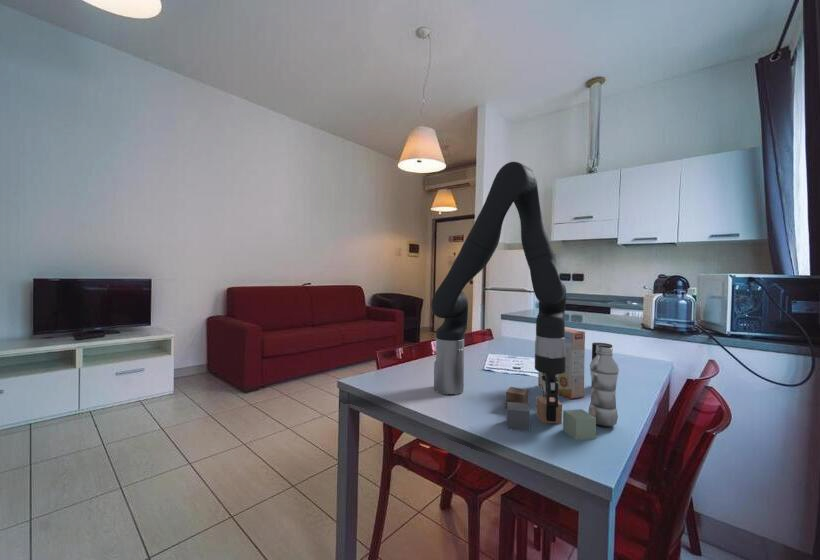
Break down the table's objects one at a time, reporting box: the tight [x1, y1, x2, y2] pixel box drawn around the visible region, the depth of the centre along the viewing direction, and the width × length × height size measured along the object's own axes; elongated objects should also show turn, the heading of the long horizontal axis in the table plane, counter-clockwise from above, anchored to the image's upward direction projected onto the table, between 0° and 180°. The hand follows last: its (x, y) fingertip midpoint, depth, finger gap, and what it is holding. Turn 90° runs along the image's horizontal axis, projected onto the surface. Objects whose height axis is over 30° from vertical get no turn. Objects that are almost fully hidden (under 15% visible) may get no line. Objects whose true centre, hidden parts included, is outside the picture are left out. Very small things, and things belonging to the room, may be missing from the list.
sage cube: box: [562, 408, 597, 441], centre depth 79 cm, size 5×5×5 cm
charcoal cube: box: [506, 402, 531, 432], centre depth 83 cm, size 5×5×5 cm
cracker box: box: [537, 327, 586, 400], centre depth 108 cm, size 14×6×21 cm, turn 22°
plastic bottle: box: [588, 345, 620, 428], centre depth 84 cm, size 6×7×20 cm
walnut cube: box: [505, 386, 529, 410], centre depth 94 cm, size 5×5×5 cm
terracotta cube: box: [536, 396, 563, 425], centre depth 87 cm, size 5×5×5 cm
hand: (549, 414), depth 87 cm, fingers open, 8 cm apart
